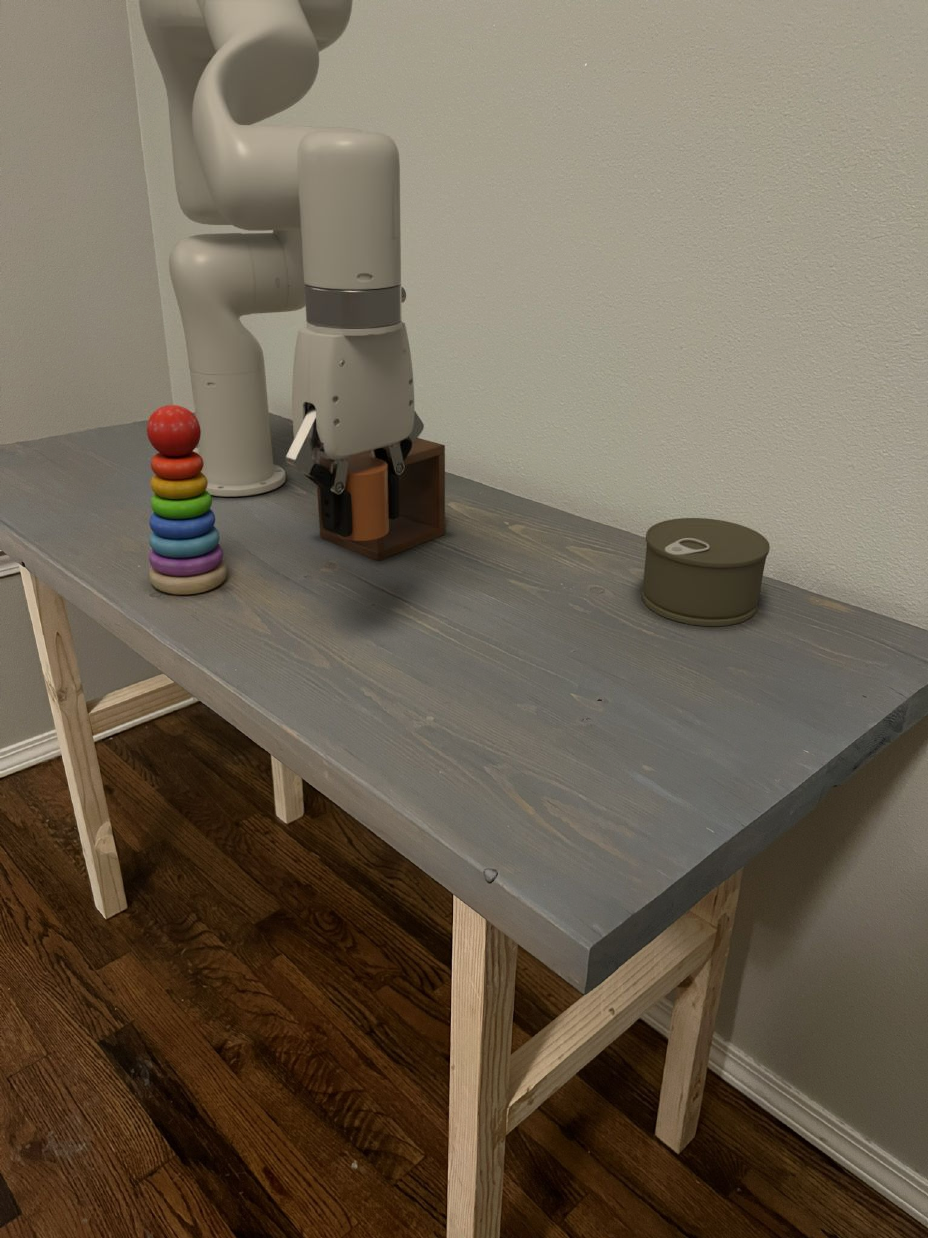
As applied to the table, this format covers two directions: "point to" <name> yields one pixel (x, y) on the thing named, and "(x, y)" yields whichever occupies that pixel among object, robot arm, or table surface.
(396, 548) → the shelf
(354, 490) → the copper tin
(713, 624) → the can
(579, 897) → the table surface
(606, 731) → the table surface
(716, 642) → the table surface
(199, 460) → the stacking toy
